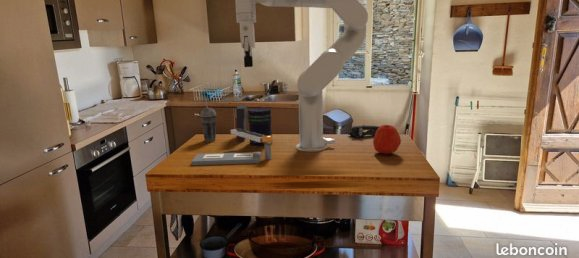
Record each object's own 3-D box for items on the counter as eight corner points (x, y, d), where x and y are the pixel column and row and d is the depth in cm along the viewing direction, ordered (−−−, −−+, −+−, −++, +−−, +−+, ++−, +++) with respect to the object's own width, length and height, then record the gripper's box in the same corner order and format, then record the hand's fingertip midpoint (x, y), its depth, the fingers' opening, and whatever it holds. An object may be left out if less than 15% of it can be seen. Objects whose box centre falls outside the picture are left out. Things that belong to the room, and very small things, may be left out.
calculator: (239, 136, 183) (237, 105, 180) (248, 136, 183) (246, 104, 180) (236, 142, 172) (234, 108, 169) (245, 142, 172) (244, 108, 169)
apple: (406, 152, 147) (406, 125, 145) (382, 156, 143) (383, 128, 141) (389, 147, 156) (390, 121, 154) (367, 150, 152) (367, 123, 150)
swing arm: (274, 142, 143) (274, 136, 142) (265, 144, 140) (265, 138, 140) (239, 132, 163) (239, 126, 163) (230, 133, 161) (230, 128, 160)
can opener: (353, 139, 171) (353, 127, 170) (347, 136, 178) (347, 124, 177) (390, 136, 175) (390, 124, 174) (382, 133, 182) (383, 121, 181)
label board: (271, 155, 149) (271, 139, 148) (271, 162, 139) (270, 146, 138) (197, 157, 149) (196, 142, 148) (191, 165, 139) (190, 149, 138)
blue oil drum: (271, 146, 163) (270, 110, 160) (248, 147, 163) (246, 111, 160) (273, 141, 173) (271, 107, 170) (250, 141, 173) (249, 108, 170)
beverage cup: (220, 140, 178) (217, 96, 174) (215, 143, 171) (212, 98, 167) (204, 140, 178) (201, 96, 174) (199, 144, 171) (196, 98, 167)
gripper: (254, 16, 143) (256, 67, 147) (257, 19, 158) (259, 65, 162) (234, 17, 143) (236, 68, 147) (238, 20, 158) (241, 66, 162)
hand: (248, 66), depth 154 cm, fingers closed
